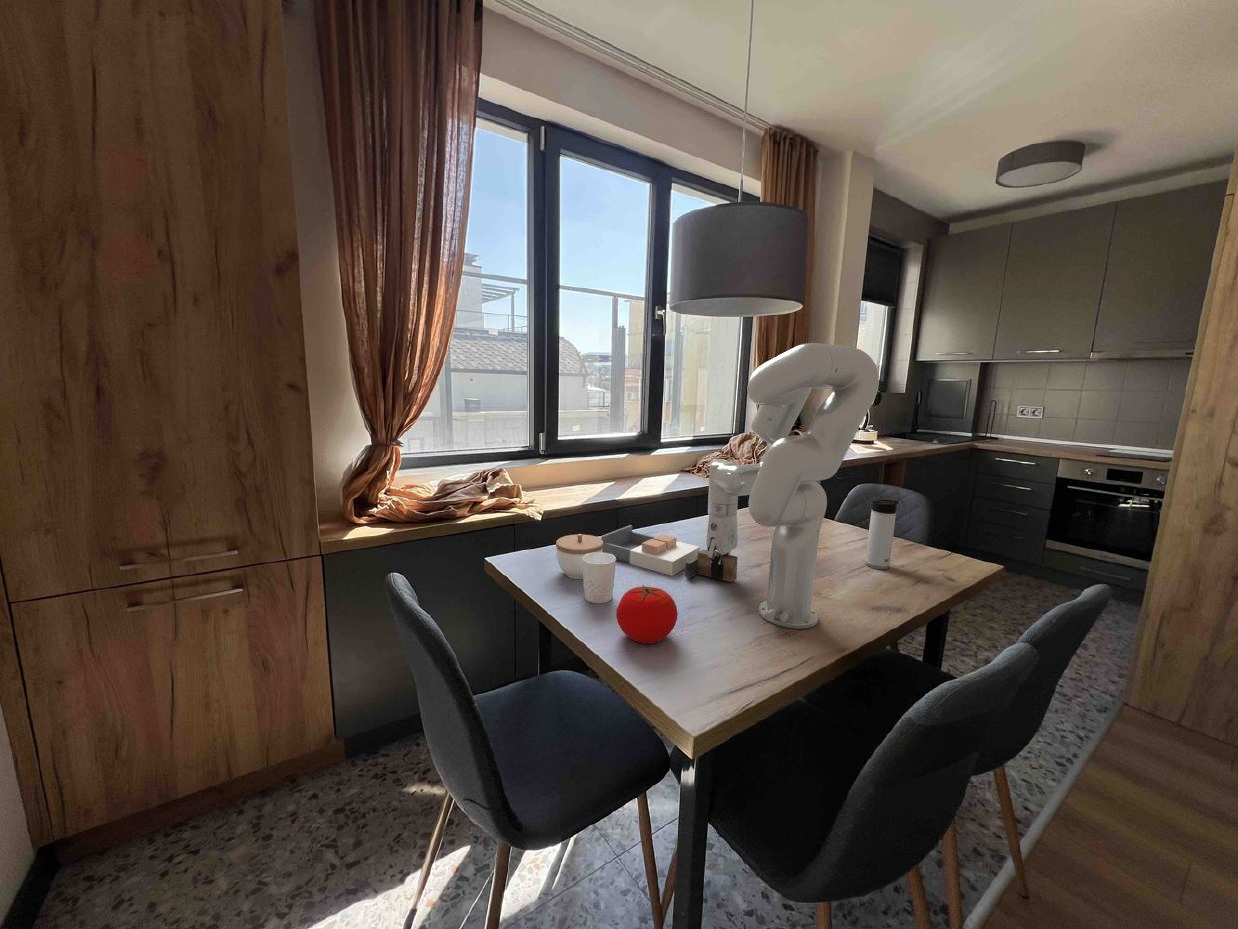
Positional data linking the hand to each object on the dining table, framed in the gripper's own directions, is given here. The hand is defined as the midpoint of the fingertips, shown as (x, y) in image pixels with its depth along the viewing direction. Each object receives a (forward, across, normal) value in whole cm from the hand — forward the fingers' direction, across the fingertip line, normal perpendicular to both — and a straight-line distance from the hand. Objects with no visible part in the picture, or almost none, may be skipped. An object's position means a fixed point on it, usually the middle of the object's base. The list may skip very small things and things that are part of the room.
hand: (719, 575), depth 129 cm
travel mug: (+2, +39, -32) cm, 51 cm away
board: (+1, +1, +18) cm, 18 cm away
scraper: (+1, 0, +1) cm, 1 cm away
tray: (0, +1, +30) cm, 30 cm away
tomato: (+2, -38, -1) cm, 38 cm away
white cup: (+1, -30, +18) cm, 35 cm away
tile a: (-3, -3, +19) cm, 20 cm away
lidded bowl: (+1, -22, +31) cm, 38 cm away
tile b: (-4, +3, +19) cm, 20 cm away
